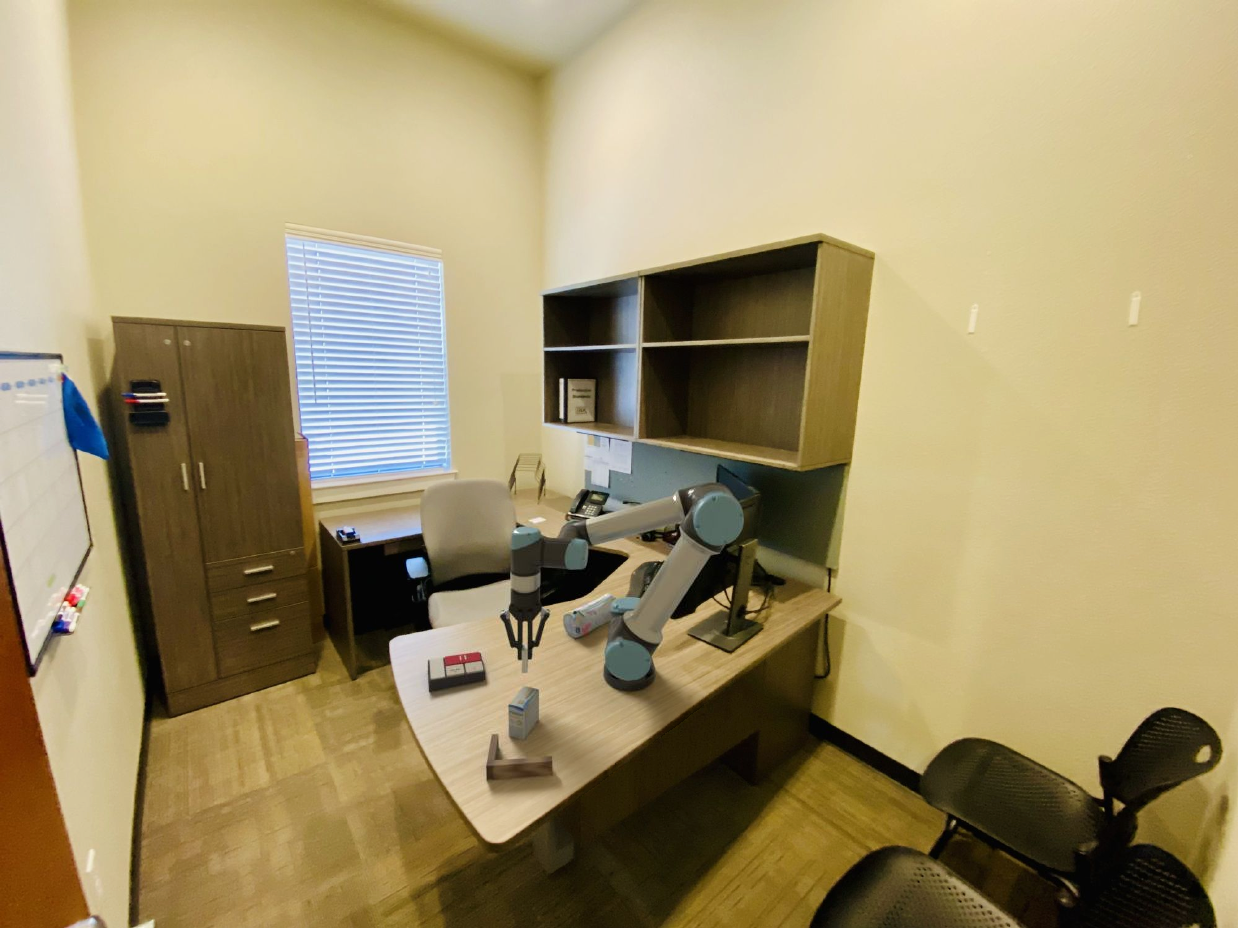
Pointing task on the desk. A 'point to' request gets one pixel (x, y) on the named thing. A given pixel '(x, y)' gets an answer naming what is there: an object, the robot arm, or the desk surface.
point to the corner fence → (515, 765)
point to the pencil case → (588, 616)
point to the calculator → (455, 671)
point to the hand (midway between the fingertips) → (524, 669)
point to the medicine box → (523, 712)
